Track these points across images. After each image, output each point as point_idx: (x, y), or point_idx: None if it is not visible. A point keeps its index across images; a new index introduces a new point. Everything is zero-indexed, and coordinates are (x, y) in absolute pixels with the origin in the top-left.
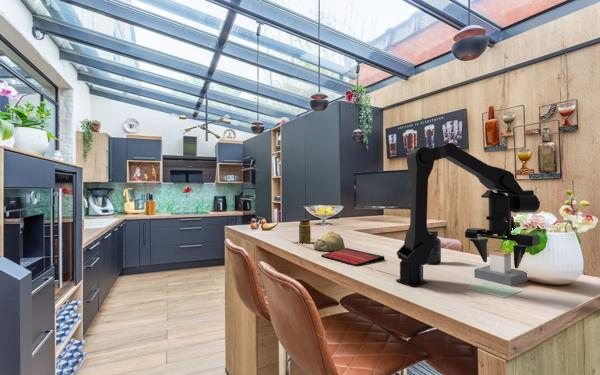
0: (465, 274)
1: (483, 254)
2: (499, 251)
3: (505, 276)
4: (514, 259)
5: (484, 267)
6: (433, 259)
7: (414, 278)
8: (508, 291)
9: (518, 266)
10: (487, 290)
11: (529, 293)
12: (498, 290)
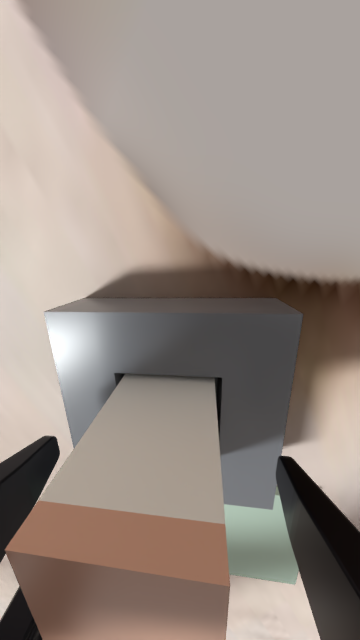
0: (41, 405)
1: (5, 544)
2: (88, 602)
3: (244, 502)
4: (319, 615)
5: (79, 421)
6: None
7: None
8: (283, 529)
9: (299, 471)
10: (229, 556)
11: (336, 468)
12: (253, 538)
